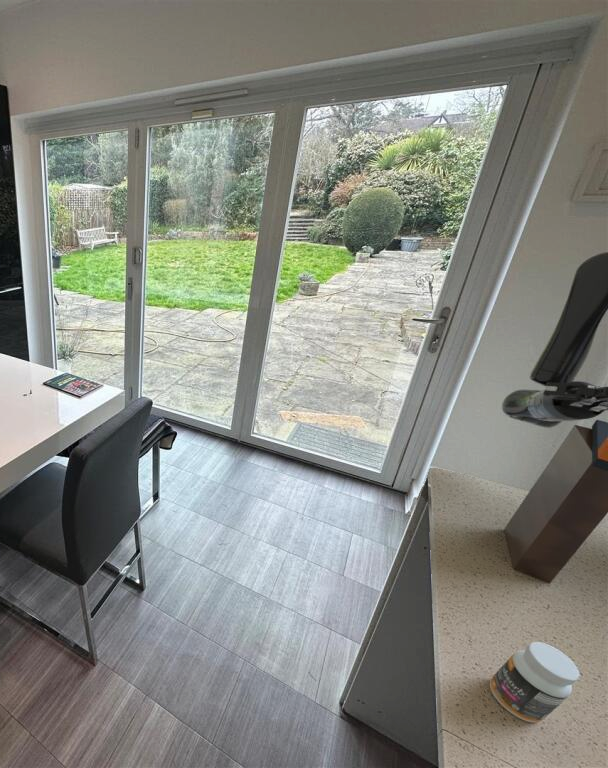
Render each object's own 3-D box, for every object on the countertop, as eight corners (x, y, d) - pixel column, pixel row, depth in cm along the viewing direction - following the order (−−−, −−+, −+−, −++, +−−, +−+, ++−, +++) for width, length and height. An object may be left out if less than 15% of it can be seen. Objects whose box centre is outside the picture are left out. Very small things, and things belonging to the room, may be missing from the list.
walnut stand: (536, 540, 82) (615, 434, 70) (550, 583, 74) (643, 470, 62) (503, 529, 85) (574, 424, 73) (513, 569, 76) (595, 457, 64)
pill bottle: (478, 674, 60) (511, 633, 55) (521, 681, 59) (559, 640, 54) (507, 720, 55) (547, 680, 50) (554, 728, 54) (599, 688, 49)
